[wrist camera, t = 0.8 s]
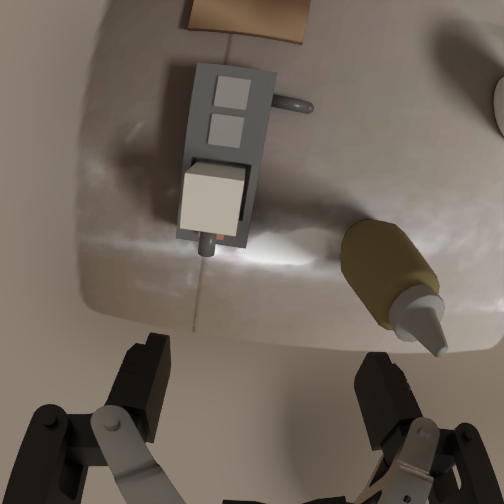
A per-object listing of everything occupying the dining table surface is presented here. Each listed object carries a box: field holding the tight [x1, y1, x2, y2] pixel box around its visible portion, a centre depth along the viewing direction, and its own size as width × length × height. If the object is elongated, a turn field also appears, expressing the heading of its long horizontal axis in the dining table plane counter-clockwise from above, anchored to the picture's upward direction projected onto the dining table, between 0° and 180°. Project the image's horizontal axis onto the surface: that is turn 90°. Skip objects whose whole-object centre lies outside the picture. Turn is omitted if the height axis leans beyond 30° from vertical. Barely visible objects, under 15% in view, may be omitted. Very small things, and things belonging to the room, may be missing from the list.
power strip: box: [176, 63, 314, 248], centre depth 27 cm, size 17×11×4 cm, turn 171°
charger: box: [180, 159, 246, 257], centre depth 27 cm, size 7×4×7 cm, turn 171°
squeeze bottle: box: [340, 219, 448, 357], centre depth 25 cm, size 8×8×18 cm
